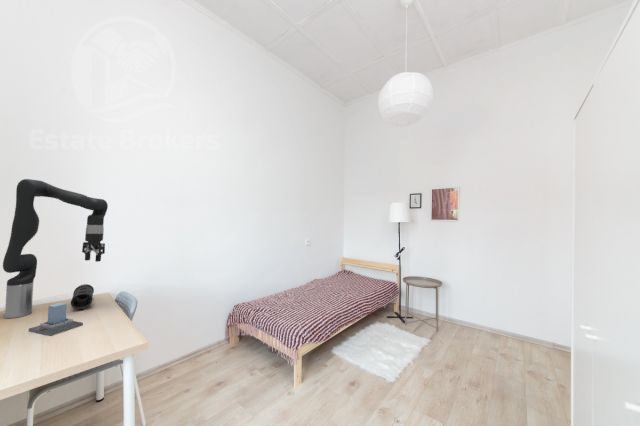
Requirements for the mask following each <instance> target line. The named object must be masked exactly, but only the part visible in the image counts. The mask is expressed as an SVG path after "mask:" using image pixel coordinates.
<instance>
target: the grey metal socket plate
mask: <svg viewBox="0 0 640 426" xmlns="http://www.w3.org/2000/svg"><path fill="white" fill-rule="evenodd" d="M83 325H84V323H83V322H80V321H75V320H74V319H73V318H68V317H66V321H64V322H61V323H57V324H54V325H50V324H48V321H44V322H42V323H39V325H36V326H34V327H33V326H32V327H30V328H28V332H29V333H35V334H40V335H45V336H50V337H51V336H55V335H57V334H61V333H63V332H66V331H67V332H68V331H70V330H73V329H76V328H78V327H82V326H83Z"/></svg>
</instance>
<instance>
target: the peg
mask: <svg viewBox="0 0 640 426" xmlns="http://www.w3.org/2000/svg"><path fill="white" fill-rule="evenodd" d="M67 307H68V303H63V302H59V303H54V304H50V305H48V308H47V322H48V324H50V325H54V324H57V323H61V322H64V321H66V318H67Z"/></svg>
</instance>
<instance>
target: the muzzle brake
mask: <svg viewBox="0 0 640 426" xmlns="http://www.w3.org/2000/svg"><path fill="white" fill-rule="evenodd" d="M94 292H95V289H94V287H93V286H92V285H91V284H81V285H78V286H77V287H76V288H75V289H74V291H73V294H72V298H71V301H70V305H71V307H72V308H73V309H75V310H79V311H83V310H84V309H86V308H88V307H89V306H90V305H91V304H92V302H93V298H94Z"/></svg>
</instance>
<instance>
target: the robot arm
mask: <svg viewBox="0 0 640 426" xmlns="http://www.w3.org/2000/svg"><path fill="white" fill-rule="evenodd" d="M15 194H16V198H15V208H14V216H13V220H12V225H11V232H10V237H9V242H8V246H7V249H6V252H5V255H4V258H3V261H2V269H3V271H4V272H6V273H7V274H8V273H9V274H12V273H18V274H17V275H15V276H13V277H11V278H9V279H8V280H7V282H6V289H5V290H6V291H5V295H6V296H5V306H4V307H5V308H4V309H5V310H4V318H5V319H14V318H15V319H16V318H20V317H24V316H25V317H26V316H28V315H30V314H32V313H33V312H32V310H33V309H32V308H33V298H34V297H33V295H34V280H35V277H36V275H37V274H36V273H37V266H38V259H37V255H34V254H32V253H26V254H25V253H24V254H22V253H23V249H24V247H25V246H26V245H27V244H28V242H30V241H31V240H32V239H33V238H34V237H35V235H36V234H37V233H38V231H39V226H40V218H39V215H38V212H37V211H36V209H35V206H34V201H35V197H38V198H39V197H44V198H51V199H56V200H59V201H60V202H63V203H66V204H69V205H73V206H77V207H81V208H84V209H85V210H89V211H92V213H91V214H89V215H88V216H87V217H86V218H87V219H86V227H85V236H84V237H85V238H84V241H85V242H82V249H81V250H82V251H81V252H82V253H84V261H87V262H88V261H90V260H91V253H92V252H93V253H95V262H97V263H98V262H101V261H102V255H103V254H105V251H106V249H105V247H106V244H105V243H103V240H104V231H105V229H104V223H105V221H104V220H105V216H106V214H107V211H108V207H109V205H108V202H107V200H105V199H102V198H97V197H96V198H95V197H90V196H87V195H85V194H82V193H79V192H74V191H71V190H66V189H63V188H60V187H57V186H55V185H52V184H50V183H48V182H45V181H43V180H38V179H37V180H36V179H30V178H29V179H28V178H24V179H22V180H19V182H18V183H17V185H16V192H15ZM101 242H102V243H101Z"/></svg>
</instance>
